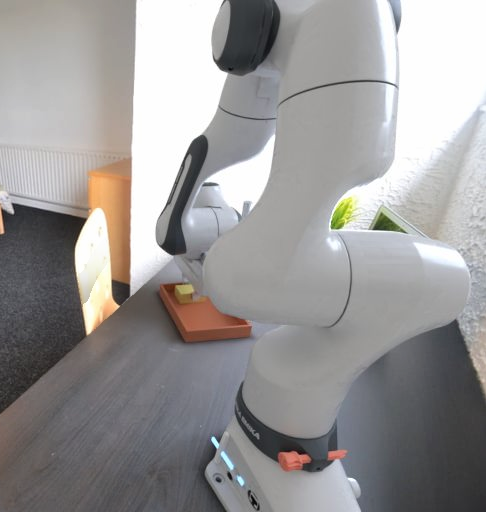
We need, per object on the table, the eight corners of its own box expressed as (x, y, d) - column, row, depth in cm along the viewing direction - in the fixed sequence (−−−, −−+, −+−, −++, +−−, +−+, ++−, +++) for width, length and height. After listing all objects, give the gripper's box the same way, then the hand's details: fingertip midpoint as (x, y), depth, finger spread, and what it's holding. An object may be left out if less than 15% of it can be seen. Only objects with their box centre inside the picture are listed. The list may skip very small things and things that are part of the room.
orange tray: (249, 336, 84) (252, 325, 83) (185, 342, 83) (186, 331, 81) (211, 289, 103) (213, 279, 102) (158, 293, 102) (159, 283, 100)
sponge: (199, 292, 100) (200, 283, 99) (205, 301, 96) (207, 292, 95) (174, 294, 100) (175, 285, 98) (179, 303, 96) (180, 294, 94)
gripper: (227, 263, 82) (219, 314, 88) (193, 230, 101) (188, 274, 107) (200, 265, 82) (193, 317, 88) (170, 231, 100) (167, 275, 106)
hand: (190, 293), depth 97 cm, fingers closed on sponge, 4 cm apart
